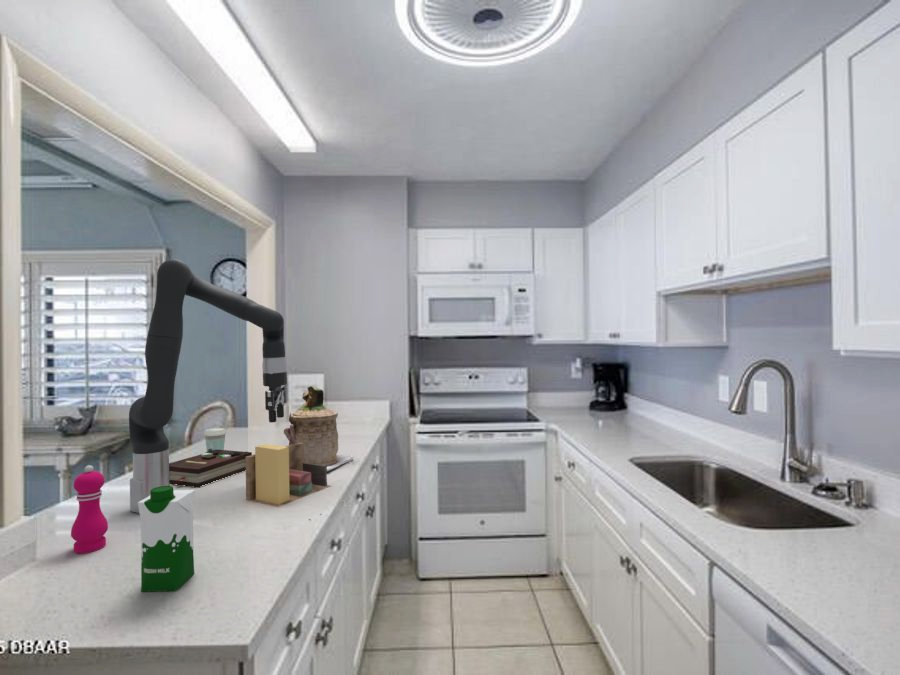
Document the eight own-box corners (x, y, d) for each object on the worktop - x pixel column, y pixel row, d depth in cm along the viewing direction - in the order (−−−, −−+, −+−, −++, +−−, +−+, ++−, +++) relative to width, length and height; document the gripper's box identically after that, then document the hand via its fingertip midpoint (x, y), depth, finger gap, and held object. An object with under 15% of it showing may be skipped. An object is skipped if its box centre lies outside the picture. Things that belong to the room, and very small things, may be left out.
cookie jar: (355, 459, 199) (354, 382, 199) (325, 476, 176) (323, 388, 176) (303, 456, 206) (302, 381, 206) (266, 472, 182) (265, 387, 182)
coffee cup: (204, 456, 208) (204, 428, 208) (226, 454, 212) (226, 426, 212) (203, 460, 200) (203, 432, 200) (226, 458, 204) (226, 430, 204)
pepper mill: (103, 539, 121) (102, 460, 122) (112, 546, 117) (111, 464, 117) (67, 549, 116) (66, 466, 116) (75, 557, 111) (74, 471, 111)
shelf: (278, 511, 139) (277, 461, 139) (246, 504, 146) (245, 456, 146) (331, 490, 158) (331, 446, 158) (300, 484, 165) (300, 442, 165)
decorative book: (152, 464, 167) (220, 446, 196) (153, 486, 167) (220, 464, 195) (195, 468, 161) (258, 449, 189) (195, 491, 161) (258, 468, 189)
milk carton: (133, 594, 94) (132, 493, 94) (159, 572, 103) (158, 479, 104) (179, 593, 95) (177, 491, 95) (201, 571, 104) (200, 478, 104)
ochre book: (278, 504, 141) (278, 449, 141) (255, 499, 146) (255, 446, 146) (289, 500, 145) (288, 447, 145) (266, 495, 149) (265, 444, 149)
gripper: (269, 369, 166) (271, 416, 167) (255, 373, 152) (257, 424, 152) (291, 369, 167) (293, 415, 167) (279, 372, 153) (282, 423, 153)
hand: (276, 419), depth 160 cm, fingers open, 8 cm apart
